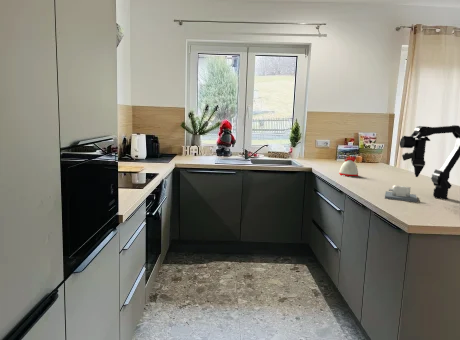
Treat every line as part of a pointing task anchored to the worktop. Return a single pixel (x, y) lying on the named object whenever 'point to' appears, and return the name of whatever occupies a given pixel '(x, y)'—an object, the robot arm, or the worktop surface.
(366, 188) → the worktop surface
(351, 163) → the kitchen timer
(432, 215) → the worktop surface
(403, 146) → the robot arm
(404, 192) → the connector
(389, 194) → the slate mat
